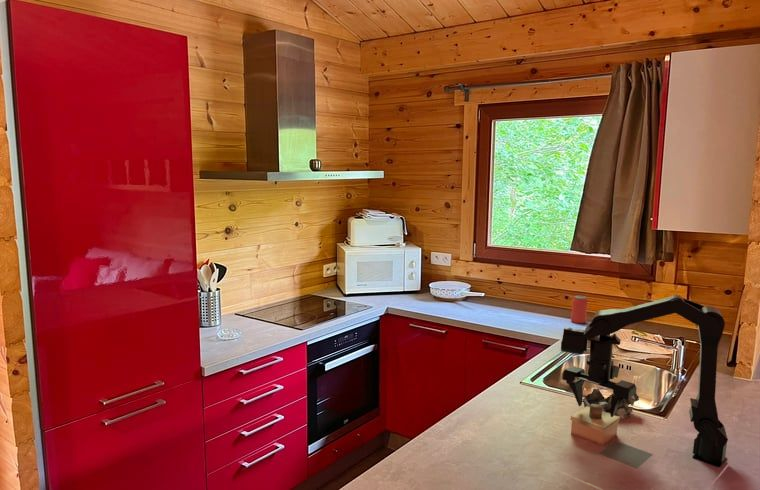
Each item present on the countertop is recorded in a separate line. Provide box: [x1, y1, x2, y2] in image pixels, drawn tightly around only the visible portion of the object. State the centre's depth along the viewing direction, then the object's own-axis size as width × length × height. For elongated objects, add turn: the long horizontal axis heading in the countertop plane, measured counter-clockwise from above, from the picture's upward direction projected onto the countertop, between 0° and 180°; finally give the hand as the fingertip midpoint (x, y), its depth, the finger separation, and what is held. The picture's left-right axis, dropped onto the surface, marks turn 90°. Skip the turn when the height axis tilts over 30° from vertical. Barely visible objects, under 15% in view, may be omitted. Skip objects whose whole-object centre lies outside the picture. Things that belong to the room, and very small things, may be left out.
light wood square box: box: [570, 420, 619, 447], centre depth 162 cm, size 9×9×4 cm
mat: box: [598, 439, 653, 469], centre depth 152 cm, size 10×10×1 cm
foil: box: [582, 387, 640, 418], centre depth 176 cm, size 12×11×15 cm
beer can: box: [570, 294, 588, 325], centre depth 271 cm, size 7×7×12 cm
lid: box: [570, 404, 621, 432], centre depth 161 cm, size 10×10×4 cm
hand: (595, 411), depth 161 cm, fingers open, 9 cm apart
